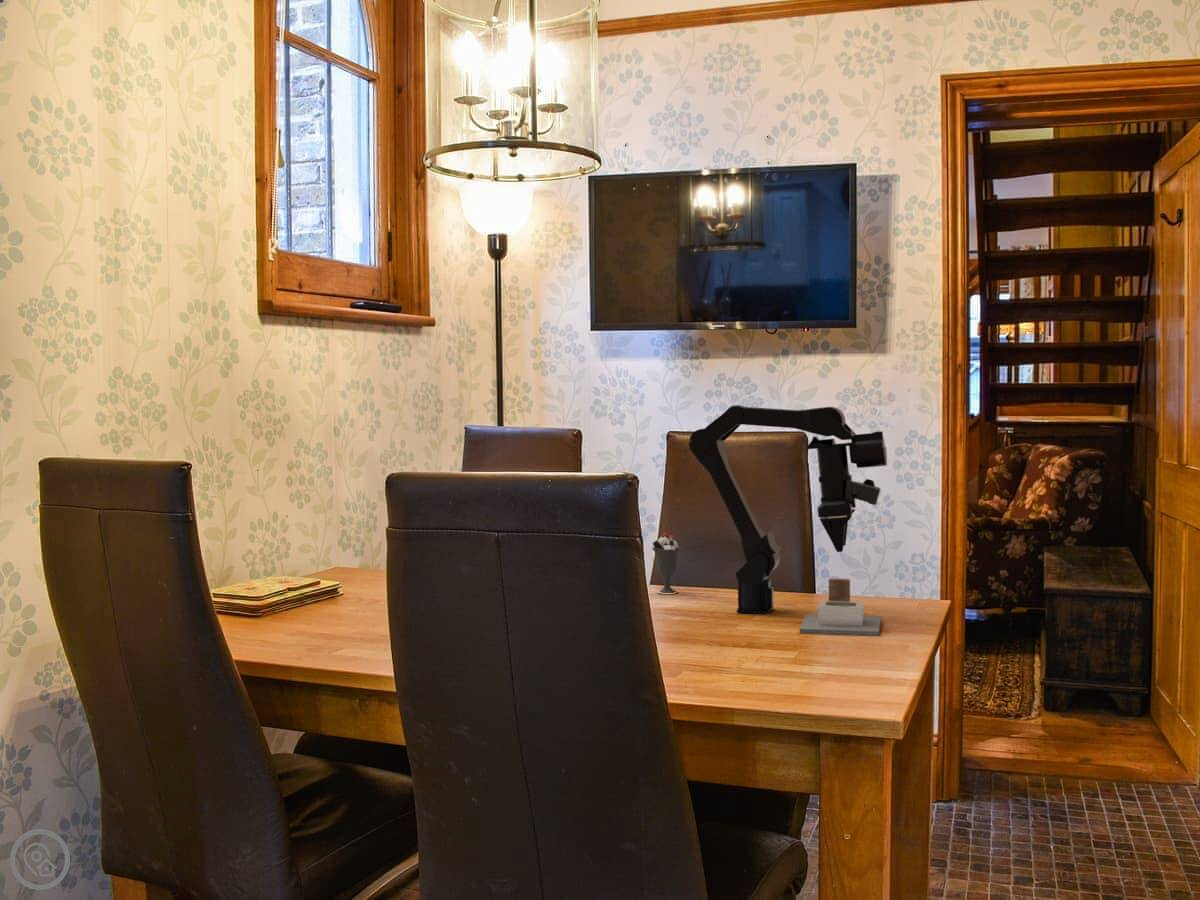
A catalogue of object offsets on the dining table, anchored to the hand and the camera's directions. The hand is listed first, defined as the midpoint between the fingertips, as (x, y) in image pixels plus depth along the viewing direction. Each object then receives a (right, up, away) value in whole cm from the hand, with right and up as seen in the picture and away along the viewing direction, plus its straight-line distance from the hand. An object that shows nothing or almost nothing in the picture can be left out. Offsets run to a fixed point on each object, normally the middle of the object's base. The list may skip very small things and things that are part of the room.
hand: (841, 548), depth 217 cm
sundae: (-32, -13, +30) cm, 46 cm away
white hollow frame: (-2, -14, -11) cm, 18 cm away
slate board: (-2, -14, -11) cm, 18 cm away
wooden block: (0, -13, +1) cm, 13 cm away
